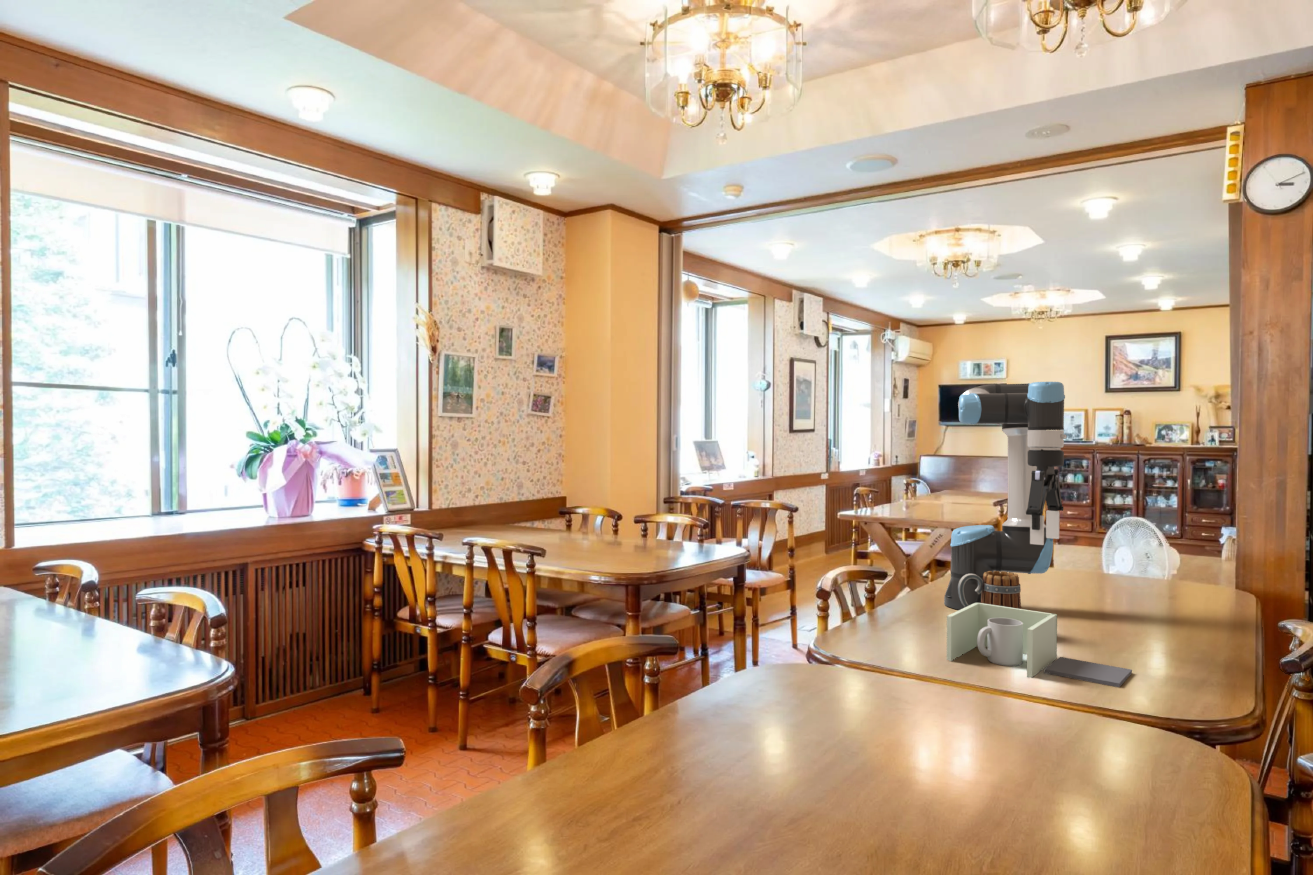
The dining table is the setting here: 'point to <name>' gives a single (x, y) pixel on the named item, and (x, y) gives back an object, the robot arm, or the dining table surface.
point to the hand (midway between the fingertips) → (1045, 541)
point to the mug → (994, 589)
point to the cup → (1002, 641)
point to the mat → (1088, 671)
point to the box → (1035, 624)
